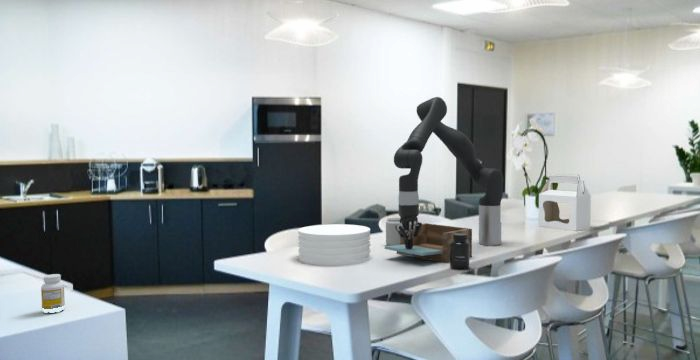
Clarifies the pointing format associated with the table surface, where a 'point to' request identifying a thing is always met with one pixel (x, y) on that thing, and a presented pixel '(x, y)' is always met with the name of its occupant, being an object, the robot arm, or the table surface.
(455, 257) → the supplement bottle
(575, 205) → the gable box
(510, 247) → the table surface
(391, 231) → the can
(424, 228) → the crate
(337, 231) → the plate stack
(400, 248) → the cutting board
